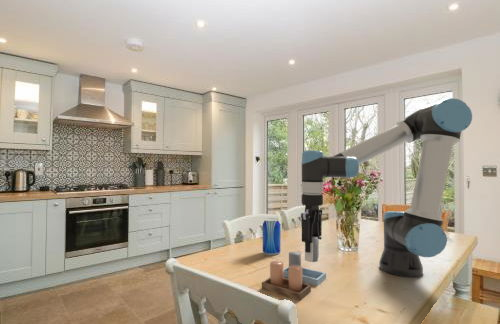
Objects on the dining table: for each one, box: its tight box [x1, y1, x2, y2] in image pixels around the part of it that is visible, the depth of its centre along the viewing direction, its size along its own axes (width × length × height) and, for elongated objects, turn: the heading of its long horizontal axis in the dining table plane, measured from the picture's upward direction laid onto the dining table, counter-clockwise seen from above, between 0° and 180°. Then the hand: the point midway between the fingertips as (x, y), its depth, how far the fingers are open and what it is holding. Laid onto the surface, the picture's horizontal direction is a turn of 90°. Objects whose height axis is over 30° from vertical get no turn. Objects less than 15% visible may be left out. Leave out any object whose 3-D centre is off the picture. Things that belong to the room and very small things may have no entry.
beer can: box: [262, 217, 282, 257], centre depth 131 cm, size 8×8×16 cm
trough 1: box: [261, 277, 312, 302], centre depth 91 cm, size 14×8×2 cm, turn 53°
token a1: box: [269, 260, 284, 288], centre depth 93 cm, size 4×4×8 cm
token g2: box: [307, 236, 319, 263], centre depth 99 cm, size 4×4×8 cm
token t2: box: [288, 265, 304, 293], centre depth 89 cm, size 4×4×8 cm
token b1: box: [288, 251, 302, 267], centre depth 103 cm, size 4×4×8 cm
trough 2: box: [283, 266, 327, 287], centre depth 101 cm, size 14×8×2 cm, turn 53°
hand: (311, 259), depth 99 cm, fingers closed on token g2, 4 cm apart
